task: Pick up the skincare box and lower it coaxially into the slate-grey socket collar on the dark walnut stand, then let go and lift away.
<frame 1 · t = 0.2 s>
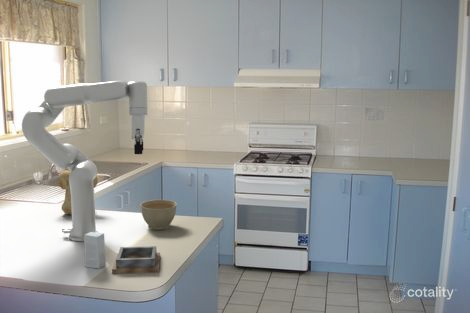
hand: (139, 152, 213), 36 cm above the worktop, tool pointing down, fingers open, 9 cm apart
socket stand: (137, 264, 187), on the worktop
planter bowl: (159, 227, 232), on the worktop
skincare box: (95, 266, 185), on the worktop
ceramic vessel: (78, 212, 256), on the worktop
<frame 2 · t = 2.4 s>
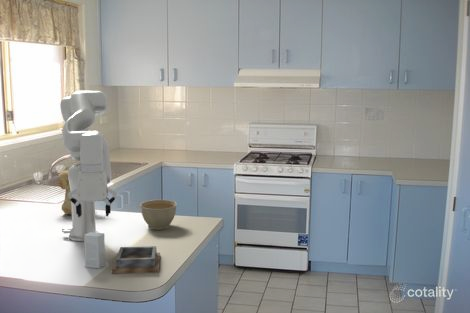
hand: (93, 215, 182), 19 cm above the worktop, tool pointing down, fingers open, 9 cm apart
nothing on the worktop moved.
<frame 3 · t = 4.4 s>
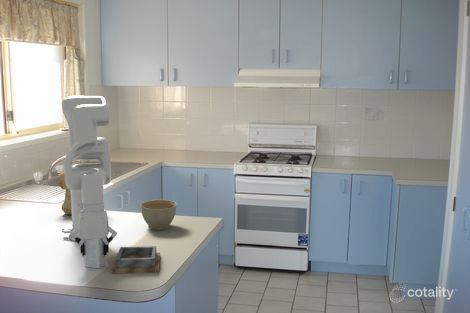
hand: (94, 254, 184), 4 cm above the worktop, tool pointing down, fingers closed on skincare box, 7 cm apart
skincare box: (95, 266, 185), on the worktop, touching gripper
everything else where it was.
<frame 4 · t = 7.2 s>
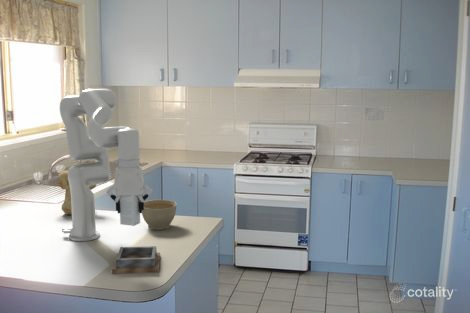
hand: (130, 211, 183), 20 cm above the worktop, tool pointing down, fingers closed on skincare box, 7 cm apart
skincare box: (130, 224, 184), point 15 cm above the worktop, touching gripper
everything else where it was.
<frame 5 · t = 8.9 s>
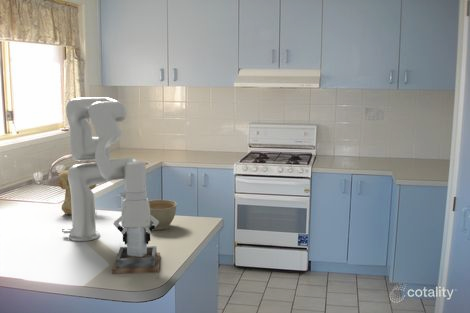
hand: (136, 242, 185), 8 cm above the worktop, tool pointing down, fingers closed on skincare box, 7 cm apart
skincare box: (137, 255, 186), point 4 cm above the worktop, touching gripper
everything else where it was.
when the fingers open (7 cm above the worktop, at t = 10.1 s): skincare box stays where it is, resting on socket stand.
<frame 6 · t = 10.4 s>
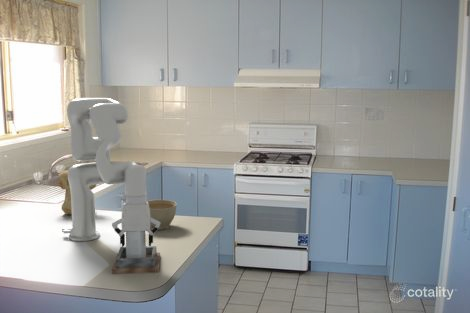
hand: (136, 245, 185), 7 cm above the worktop, tool pointing down, fingers open, 9 cm apart
skincare box: (136, 261, 186), point 1 cm above the worktop, touching socket stand
everything else where it was.
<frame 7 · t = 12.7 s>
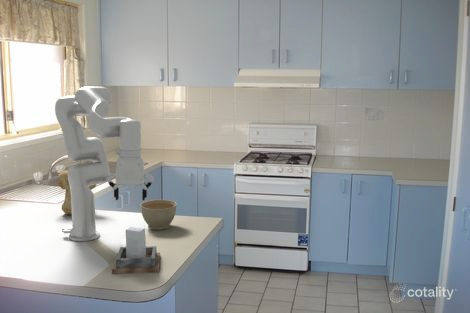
hand: (130, 199, 188), 23 cm above the worktop, tool pointing down, fingers open, 9 cm apart
nothing on the worktop moved.
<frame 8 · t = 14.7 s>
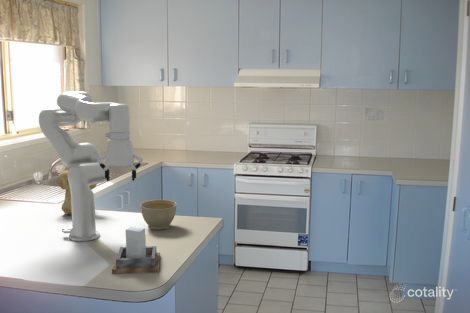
hand: (120, 180, 197), 28 cm above the worktop, tool pointing down, fingers open, 9 cm apart
nothing on the worktop moved.
at the end: skincare box 0.3 cm off-centre on the socket stand, point 1.3 cm above the socket stand's base; skincare box tilted 0°; the gripper is holding nothing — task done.
